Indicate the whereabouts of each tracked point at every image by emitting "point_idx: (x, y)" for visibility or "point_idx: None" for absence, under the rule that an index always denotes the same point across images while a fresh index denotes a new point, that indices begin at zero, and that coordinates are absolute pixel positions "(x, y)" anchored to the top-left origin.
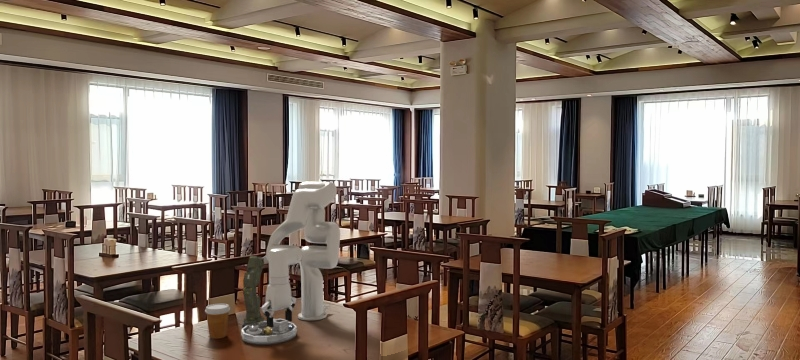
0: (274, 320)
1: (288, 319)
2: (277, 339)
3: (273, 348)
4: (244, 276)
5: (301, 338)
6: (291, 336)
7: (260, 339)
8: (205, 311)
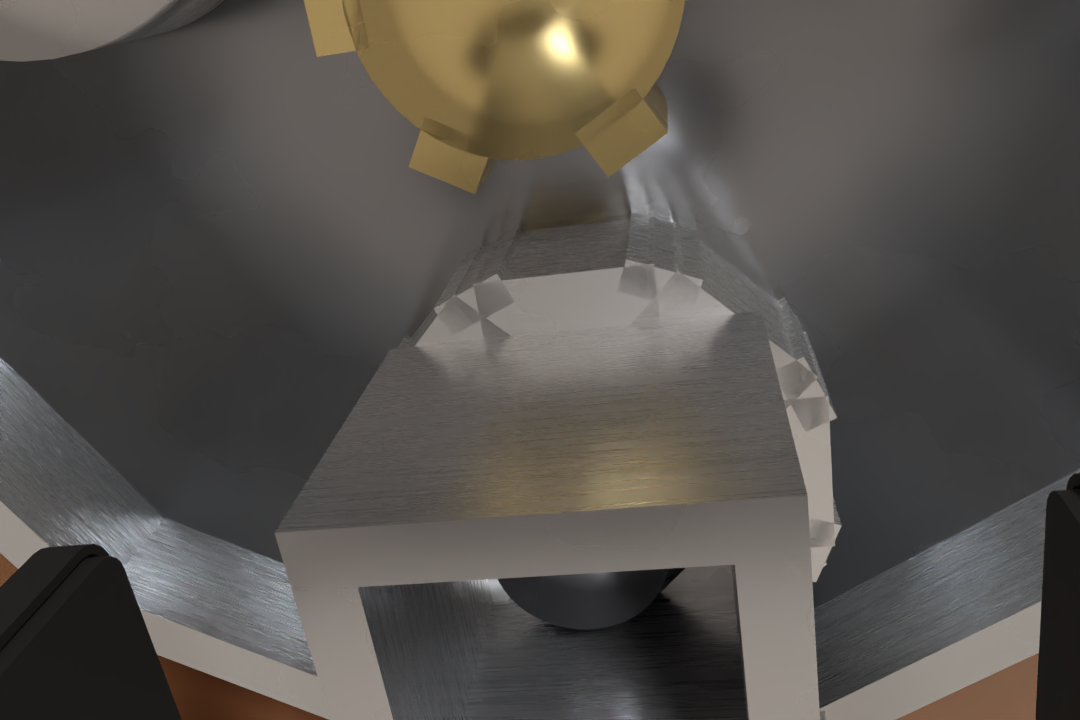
0: (425, 544)
1: (1066, 687)
2: None
3: (186, 716)
4: None
5: (961, 691)
6: None
7: None
8: None
